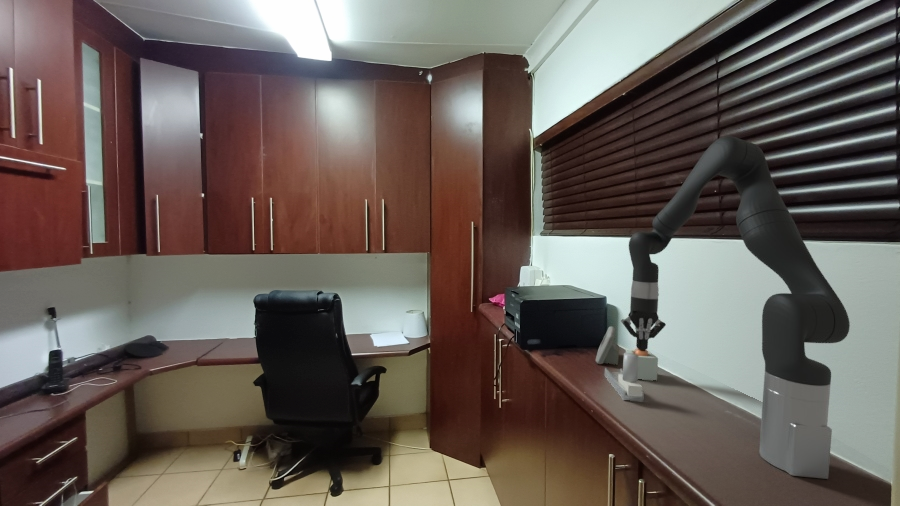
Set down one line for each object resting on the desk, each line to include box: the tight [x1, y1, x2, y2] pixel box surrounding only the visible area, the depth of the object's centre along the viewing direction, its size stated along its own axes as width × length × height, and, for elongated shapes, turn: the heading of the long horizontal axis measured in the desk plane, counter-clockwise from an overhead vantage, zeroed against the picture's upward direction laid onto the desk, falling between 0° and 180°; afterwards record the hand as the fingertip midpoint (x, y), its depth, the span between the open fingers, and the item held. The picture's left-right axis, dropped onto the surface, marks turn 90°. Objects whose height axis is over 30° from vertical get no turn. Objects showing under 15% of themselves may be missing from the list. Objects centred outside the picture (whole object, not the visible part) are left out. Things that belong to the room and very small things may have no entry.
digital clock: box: [595, 325, 620, 366], centre depth 129 cm, size 16×9×11 cm, turn 143°
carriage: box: [618, 352, 643, 397], centre depth 99 cm, size 8×4×10 cm, turn 173°
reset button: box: [634, 348, 649, 356], centre depth 115 cm, size 4×4×3 cm
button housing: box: [625, 349, 659, 382], centre depth 115 cm, size 7×7×7 cm
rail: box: [604, 367, 645, 403], centre depth 105 cm, size 17×5×3 cm, turn 173°
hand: (641, 350), depth 115 cm, fingers closed
